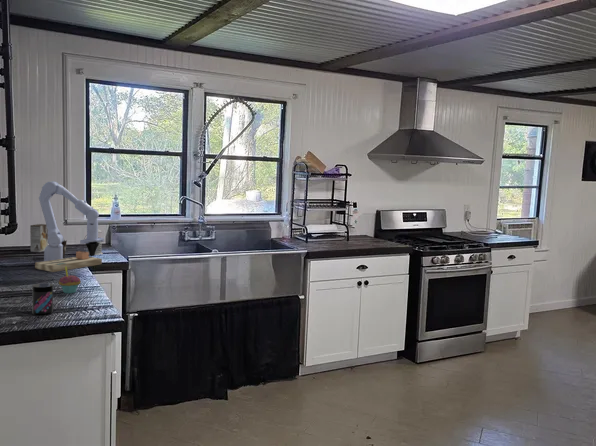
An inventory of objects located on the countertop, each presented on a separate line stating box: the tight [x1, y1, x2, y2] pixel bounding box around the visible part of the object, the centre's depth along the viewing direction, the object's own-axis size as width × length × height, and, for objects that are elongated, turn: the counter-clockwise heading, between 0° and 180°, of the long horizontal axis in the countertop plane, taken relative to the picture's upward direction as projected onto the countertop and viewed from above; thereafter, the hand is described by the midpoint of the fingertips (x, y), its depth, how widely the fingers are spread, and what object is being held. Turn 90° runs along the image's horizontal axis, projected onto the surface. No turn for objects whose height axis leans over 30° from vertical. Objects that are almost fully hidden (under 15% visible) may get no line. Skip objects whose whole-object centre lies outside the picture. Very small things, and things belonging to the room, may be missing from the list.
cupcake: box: [58, 265, 82, 294], centre depth 219 cm, size 9×8×12 cm
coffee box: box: [29, 223, 49, 253], centre depth 316 cm, size 9×6×16 cm
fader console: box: [34, 256, 103, 273], centre depth 274 cm, size 14×30×3 cm, turn 152°
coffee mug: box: [62, 239, 68, 259], centre depth 298 cm, size 12×9×10 cm
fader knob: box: [75, 250, 90, 259], centre depth 281 cm, size 5×4×4 cm
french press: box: [84, 228, 104, 256], centre depth 315 cm, size 10×12×25 cm
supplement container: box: [31, 282, 54, 317], centre depth 186 cm, size 7×7×10 cm
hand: (92, 255), depth 287 cm, fingers closed
